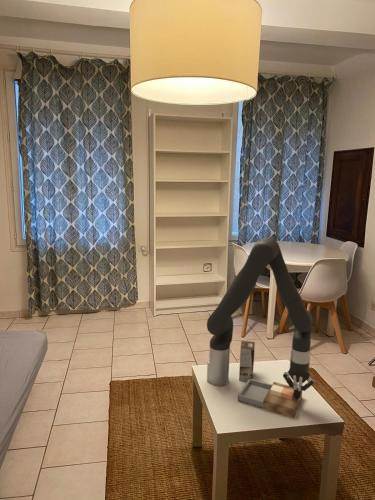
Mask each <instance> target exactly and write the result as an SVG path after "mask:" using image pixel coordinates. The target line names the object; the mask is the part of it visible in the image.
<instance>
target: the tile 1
mask: <svg viewBox="0 0 375 500" xmlns="http://www.w3.org/2000/svg"><path fill="white" fill-rule="evenodd" d="M283 388H284V387H281V386H277V385H273V386H272V388H271V390H270V394H272V395H276V396H279V397H281V392H282V390H283Z"/></svg>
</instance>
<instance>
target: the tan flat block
mask: <svg viewBox="0 0 375 500" xmlns="http://www.w3.org/2000/svg"><path fill="white" fill-rule="evenodd" d="M273 385H277V386H281V387H284V388H288V389H291V390H294V389H293V388H292V387H290V386H289V385H288V384H283V383H280V382H275V381H273V383H272V386H273ZM272 386H271V388H272ZM271 388H270V390H271ZM270 390H269V391H268V393H267V395H266V397H265V398H264V400H263V409H262V410H265V411H268V412H271V413H275V414H278V415H282V416H284V417H289V418H292V419H294V417H295V416H296V413H297V411H298V409H299V406H300V404H301V401H302V398H303V390H302V391H301V396H300V398H299V399H297V398H295V396H293V398H292V400H290V399H286V398H282V397H279V396H276V395H272V394H270Z"/></svg>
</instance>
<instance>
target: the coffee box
mask: <svg viewBox="0 0 375 500" xmlns="http://www.w3.org/2000/svg"><path fill="white" fill-rule="evenodd" d="M255 343H256V342H255V341H248V340H247V341H244V340H241V341H240V351H239V352H240V353H239V354H240V356H239V372H238V376H239V377H238V381H240V382H241V381H243V382H247V381H248V380H249V378H250V379H253V377H254V367H255V366H254V363H255V350H256V349H255V345H256V344H255Z"/></svg>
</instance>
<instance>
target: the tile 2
mask: <svg viewBox="0 0 375 500" xmlns="http://www.w3.org/2000/svg"><path fill="white" fill-rule="evenodd" d="M293 394H294V390H291V389H288V388H283V390H282V392H281V397H282V398H286V399H290V400H292V398H293V396H294V395H293Z"/></svg>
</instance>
